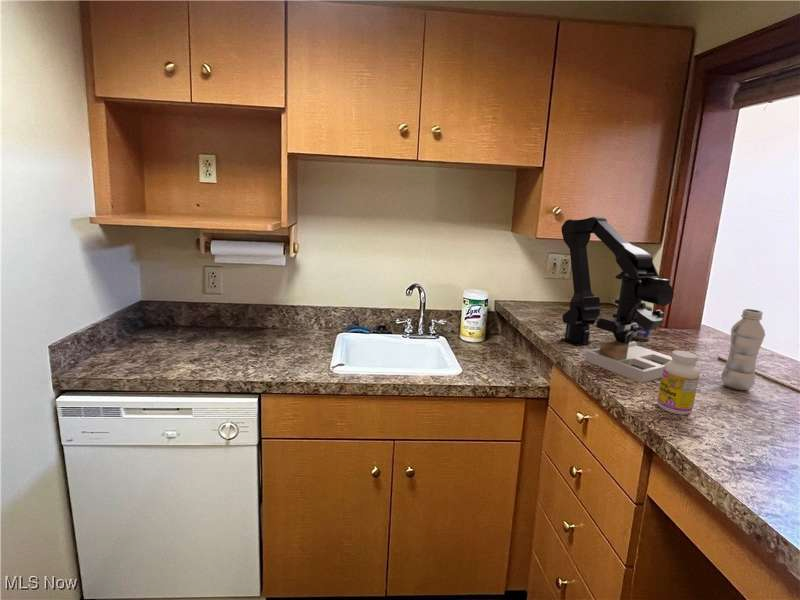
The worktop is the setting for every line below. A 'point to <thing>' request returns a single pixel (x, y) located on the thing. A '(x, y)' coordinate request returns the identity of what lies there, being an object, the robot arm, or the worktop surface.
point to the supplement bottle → (679, 383)
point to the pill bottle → (642, 331)
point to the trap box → (632, 363)
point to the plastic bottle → (744, 351)
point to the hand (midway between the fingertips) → (622, 351)
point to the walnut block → (614, 349)
